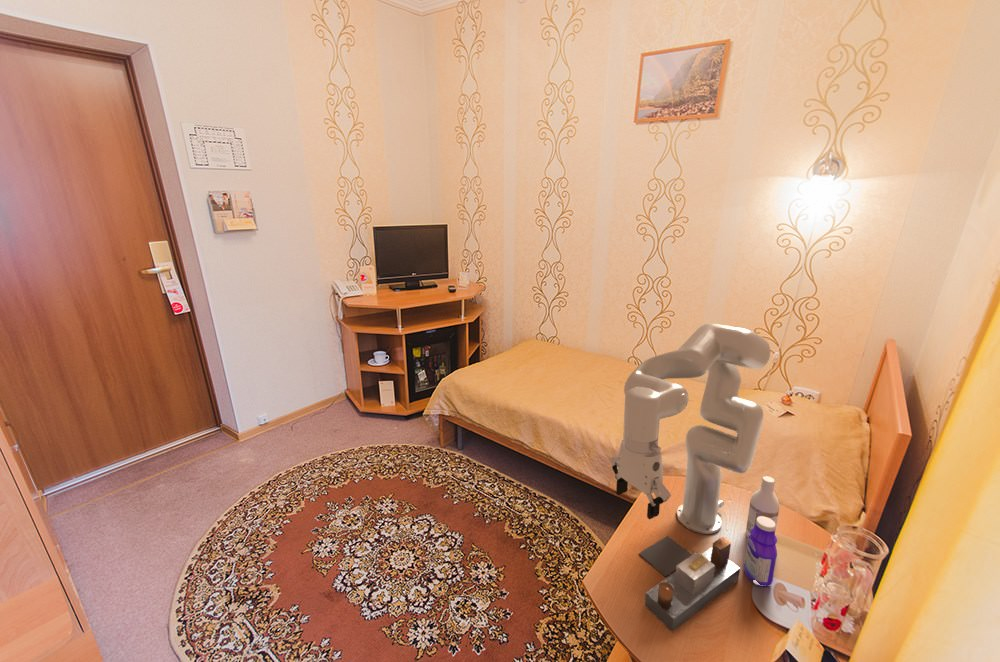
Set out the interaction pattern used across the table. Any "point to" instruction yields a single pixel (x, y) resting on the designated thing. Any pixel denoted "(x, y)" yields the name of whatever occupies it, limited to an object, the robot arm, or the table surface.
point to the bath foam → (763, 504)
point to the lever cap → (695, 573)
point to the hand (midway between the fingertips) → (636, 504)
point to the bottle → (761, 552)
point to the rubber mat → (665, 555)
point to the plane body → (679, 603)
